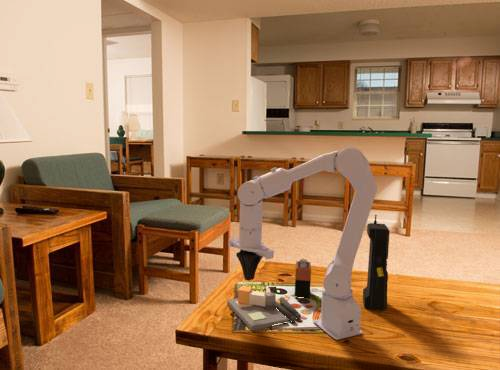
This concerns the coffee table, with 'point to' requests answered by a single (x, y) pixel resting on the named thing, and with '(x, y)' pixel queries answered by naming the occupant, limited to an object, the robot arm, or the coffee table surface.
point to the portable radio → (377, 267)
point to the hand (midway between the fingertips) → (249, 279)
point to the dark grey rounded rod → (290, 308)
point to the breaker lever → (256, 297)
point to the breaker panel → (256, 315)
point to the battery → (303, 278)
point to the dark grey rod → (285, 312)
